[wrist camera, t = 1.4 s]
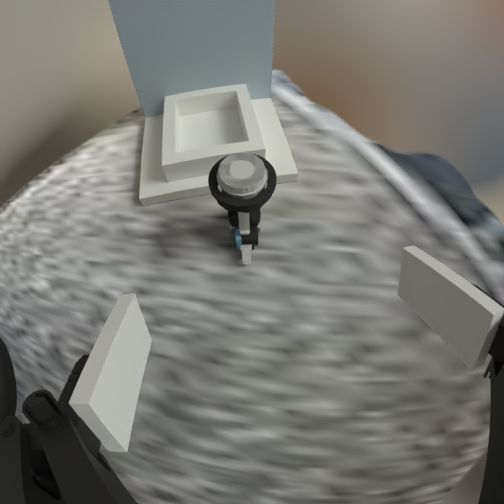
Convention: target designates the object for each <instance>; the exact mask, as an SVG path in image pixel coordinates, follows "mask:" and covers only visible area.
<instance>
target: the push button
mask: <svg viewBox="0 0 504 504" xmlns="http://www.w3.org/2000/svg"><path fill="white" fill-rule="evenodd" d="M266 181H267V184H268V185H267V187H266V189H265V183H266ZM276 181H277V176H276V172H275V169H274V168H273V166H272V165H271V163H270V162H268V161H267V160H266V159H265V158H263V157H261V156H259V155H256V154H252V153H247V152H240V153H234V154H231V155H228V156H225V157H223V158H222V159H220V160H219V161H218V162H216V163H215V165H214V166H213V167H212V169H211V170H210V173H209V177H208V184H209V188H210V191H211V193H212V195H213V196H214V197H215V199H216V200H217V202H218V204H219V205H221V206H222V207H223V208H225V209H226V210H228V218H229V223H230V233H231V229H235V228H236V244H237V250H241V254H242V260H243V264H244V265H247V264H251V254H252V250H254V245H258V228H259V233H260V213H261V212H260V208H261V207H262V206H263V205H264V204H265V203H266V202H267V201H268V200H269V199H270V198H271V196H272V194H273V192H274V190H275V187H276ZM218 185H220V187H221V191H222V192H221V191H220V190H219V189H218Z"/></svg>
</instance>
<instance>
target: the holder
mask: <svg viewBox="0 0 504 504" xmlns="http://www.w3.org/2000/svg"><path fill="white" fill-rule="evenodd" d="M109 4H110V8H111V11H112V15H113V18H114V22H115V25H116V29H117V32H118V36H119V39H120V42H121V45H122V48H123V52H124V55H125V58H126V61H127V64H128V67H129V70H130V74H131V77H132V80H133V83H134V86H135V88H136V92H137V95H138V98H139V101H140V103H141V106H142V109H143V112H144V115H145V118H146V119H145V127H144V137H143V147H142V159H141V173H140V191H139V200H140V201H141V203H142V205H143V206H146V205H151V204H156V203H161V202H166V201H172V200H177V199H182V198H188V197H193V196H199V195H205V194H211V191H210V188H209V184H208V177H209V173H210V170H211V169H212V167H213V166H214V165H215V163H216V162H218V161H219V160H220V159H222V158H223V157H225V156H228V155H231V154H234V153H240V152H247V153H252V154H256V155H259V156H261V157H263V158H265V159H266V160H267V161H268V162H270V163H271V165H272V166H273V168H274V169H275V172H276V176H277V181H276V184H278V183H286V182H294V181H297V176H298V171H297V168H296V166H295V163H294V160H293V157H292V154H291V151H290V148H289V146H288V143H287V140H286V137H285V135H284V132H283V129H282V126H281V124H280V121H279V119H278V116H277V113H276V111H275V108H274V106H273V103H272V100H271V78H272V57H273V35H274V34H273V33H274V11H275V0H109ZM265 185H268V184H267V181H266V183H265ZM218 189H219V190H220V191H221V187H220V185H218ZM221 192H222V191H221Z"/></svg>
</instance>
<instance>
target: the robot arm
mask: <svg viewBox="0 0 504 504" xmlns="http://www.w3.org/2000/svg"><path fill="white" fill-rule="evenodd" d="M398 296H400V297H401V298H402V299H403V300H404V301H405V302H406V303H407V304H408V305H409V306H410V307H411V308H412V309H413V310H414V311H415V312H416V313H417V314H418V315H419V316H420V317H421V318H422V319H423V320H424V321H425V322H426V323H427V324H428V325H429V326H430V327H431V328H432V329H433V330H434V331H435V332H436V333H437V334H438V335H439V336H440V337H441V338H442V339H443V340H444V342H445V343H446V344H447V345H448V346H449V347H450V348H451V349H452V350H453V351H454V352H455V353H456V354H457V355H458V356H459V358H460V359H461V360H462V361H463V362H464V363H465V364H466V365H467V366H468V367H469V368H470V370H471V371H473V370H475V369H476V368H478V367H480V366H481V365H483V364H484V362H485V359H486V357H487V355H488V353H489V354H490V355H491V356H492V359H491V361H490V363H489V365H488V367H487V369H486V371H485V373H484V378H486V376H487V374H488V372H490V376H489V378H490V379H491V414H490V433H489V444H488V453H487V461H486V468H485V474H484V480H483V485H482V491H481V494H480V499H479V503H478V504H504V306H503V305H502V304H501V303H499V302H498V301H497V300H495V299H494V298H493V297H491V296H490V295H489V294H487V293H486V292H484V291H483V290H482V289H481V288H479V287H478V286H476V285H474V284H472V283H469V282H468V281H466V280H465V279H464V278H462V277H461V276H459V275H458V274H456V273H455V272H453V271H452V270H450V269H449V268H448V267H446V266H445V265H443V264H442V263H440V262H439V261H437V260H436V259H434V258H432V257H431V256H429V255H428V254H426V253H425V252H423V251H422V250H420V249H418V248H417V247H415V246H409V247H404V248H402V260H401V271H400V280H399V288H398ZM151 342H152V339H151V337H150V334H149V331H148V329H147V326H146V323H145V321H144V318H143V315H142V312H141V310H140V307H139V304H138V301H137V298H136V295H135V293H133V294H126V295H120V297H119V299H118V300H117V302H116V304H115V306H114V308H113V310H112V312H111V314H110V315H109V317H108V319H107V321H106V323H105V325H104V327H103V329H102V331H101V333H100V335H99V337H98V339H97V341H96V343H95V345H94V347H93V349H92V351H91V354H90V355H83V356H82V357H81V358H80V359H79V360H78V361H77V363H76V364H75V366H74V368H73V370H72V372H71V373H72V374H70V376H69V378H68V382H67V383H66V385H65V387H64V389H63V391H62V393H61V396H60V398H59V400H58V402H57V401H56V399H55V398H54V397H53V395H52V394H51V393H50V392H49V391H47V390H38V391H36V392H33V393H32V394H30V395H29V396H28V397H27V398H26V400H25V401H24V403H23V406H22V413H23V414H24V415H25V416H26V417H27V419H28V420H29V421H30V422H31V423H29V424H22V423H21V421H20V420H19V419H18V418H17V417H15V416H14V415H15V410H16V382H15V375H14V370H13V366H12V362H11V359H10V356H9V353H8V351H7V348H6V346H5V344H4V342H3V341H2V339H1V338H0V504H137V503H136V501H135V500H134V499H133V498H132V496H131V495H130V494H129V492H128V491H127V490H126V488H125V487H124V486H123V484H122V483H121V481H120V480H119V479H118V477H117V476H116V474H115V473H114V471H113V470H112V468H111V467H110V465H109V464H108V462H107V461H106V459H105V458H104V456H103V455H102V454H101V453H100V452H99V449H100V445H101V443H102V444H103V445H104V447H105V448H106V449H107V450H108V451H114V452H127V451H128V446H129V440H130V435H131V430H132V424H133V419H134V415H135V410H136V405H137V400H138V396H139V391H140V387H141V383H142V378H143V374H144V370H145V366H146V362H147V358H148V354H149V350H150V346H151Z"/></svg>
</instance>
